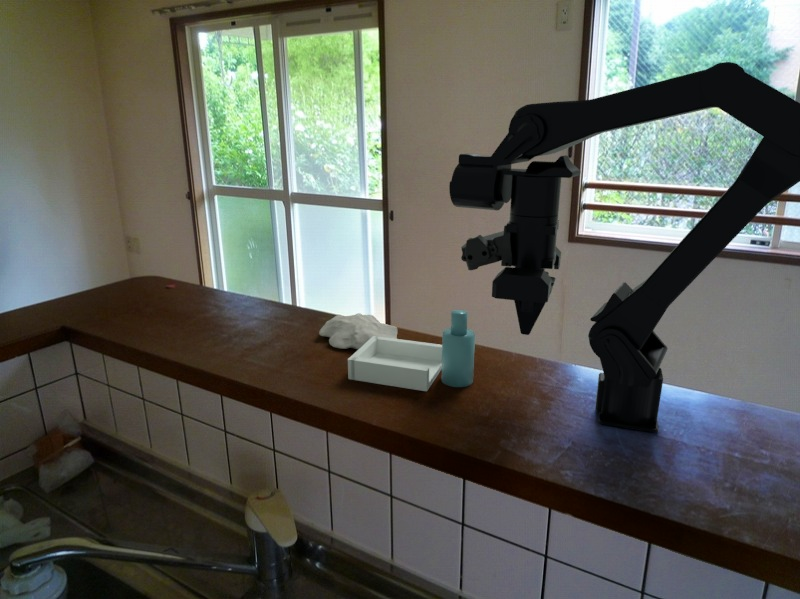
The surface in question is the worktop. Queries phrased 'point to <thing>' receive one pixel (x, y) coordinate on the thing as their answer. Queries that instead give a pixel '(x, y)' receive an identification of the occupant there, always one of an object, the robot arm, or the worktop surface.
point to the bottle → (458, 351)
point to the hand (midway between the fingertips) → (525, 333)
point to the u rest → (396, 363)
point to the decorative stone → (355, 330)
